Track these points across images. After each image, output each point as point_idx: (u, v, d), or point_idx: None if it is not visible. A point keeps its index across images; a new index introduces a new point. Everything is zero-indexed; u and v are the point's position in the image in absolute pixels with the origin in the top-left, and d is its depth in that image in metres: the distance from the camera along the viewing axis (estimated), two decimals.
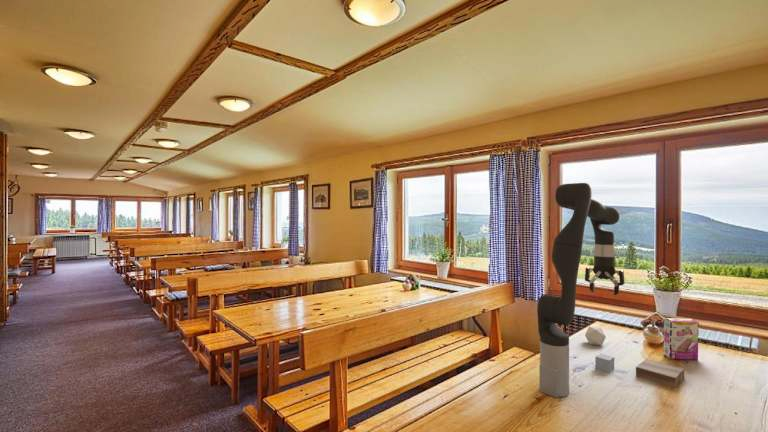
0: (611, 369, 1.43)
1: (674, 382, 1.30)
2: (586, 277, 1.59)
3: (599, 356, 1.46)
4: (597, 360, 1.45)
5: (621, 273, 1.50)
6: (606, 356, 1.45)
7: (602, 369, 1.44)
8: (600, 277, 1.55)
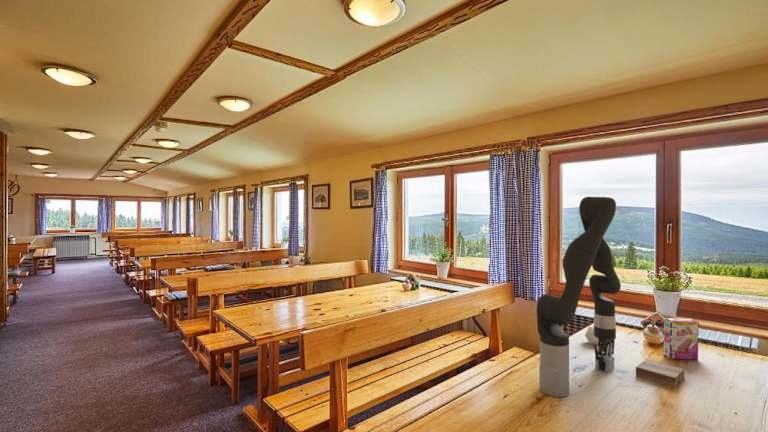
0: (611, 369, 1.43)
1: (674, 382, 1.30)
2: (602, 357, 1.41)
3: None
4: (597, 360, 1.45)
5: None
6: (606, 356, 1.45)
7: None
8: None
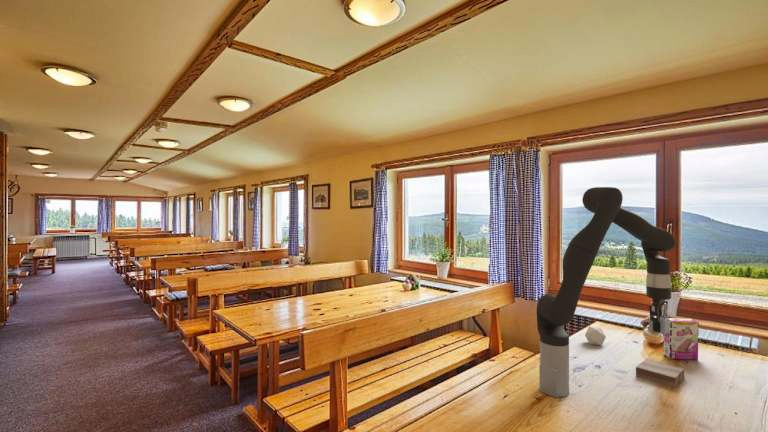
0: (666, 330, 1.36)
1: (674, 382, 1.30)
2: (658, 317, 1.34)
3: None
4: (650, 322, 1.38)
5: (667, 304, 1.41)
6: None
7: None
8: None
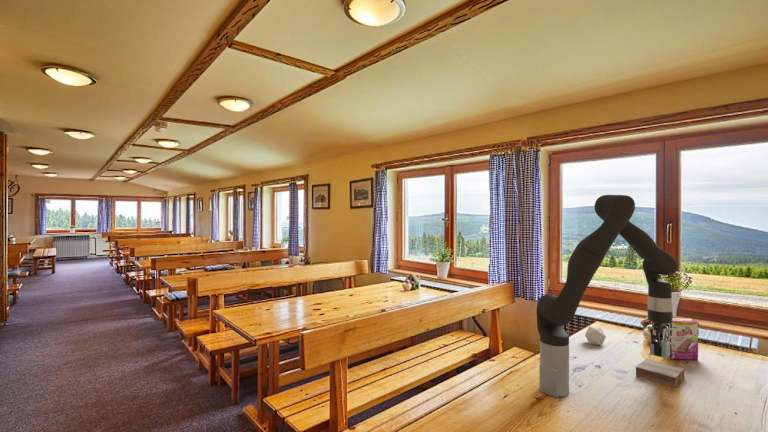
0: (667, 354, 1.36)
1: (674, 382, 1.30)
2: (659, 341, 1.33)
3: None
4: (651, 345, 1.38)
5: (668, 327, 1.41)
6: None
7: None
8: None
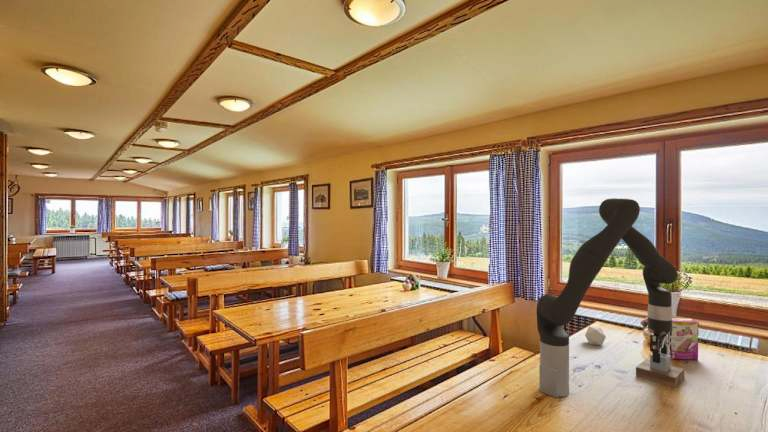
0: (668, 368, 1.35)
1: (674, 382, 1.30)
2: (658, 348, 1.33)
3: None
4: None
5: (668, 332, 1.41)
6: (661, 354, 1.38)
7: (658, 368, 1.36)
8: None
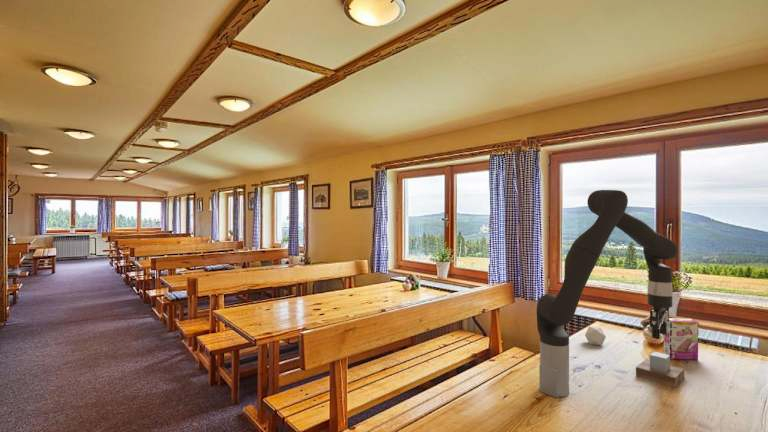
0: (667, 368, 1.35)
1: (674, 382, 1.30)
2: (658, 323, 1.33)
3: (654, 354, 1.38)
4: (651, 359, 1.37)
5: (668, 309, 1.41)
6: (661, 355, 1.38)
7: (658, 368, 1.36)
8: None
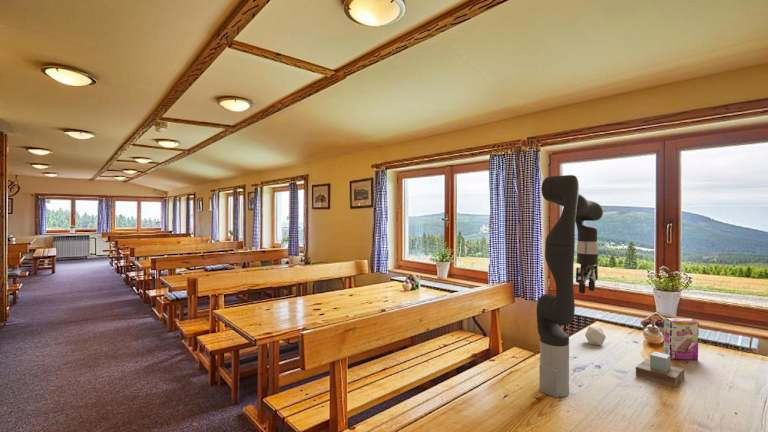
0: (668, 368, 1.35)
1: (674, 382, 1.30)
2: (582, 279, 1.45)
3: (654, 354, 1.38)
4: (652, 359, 1.38)
5: (597, 268, 1.52)
6: (661, 354, 1.38)
7: (658, 368, 1.36)
8: None
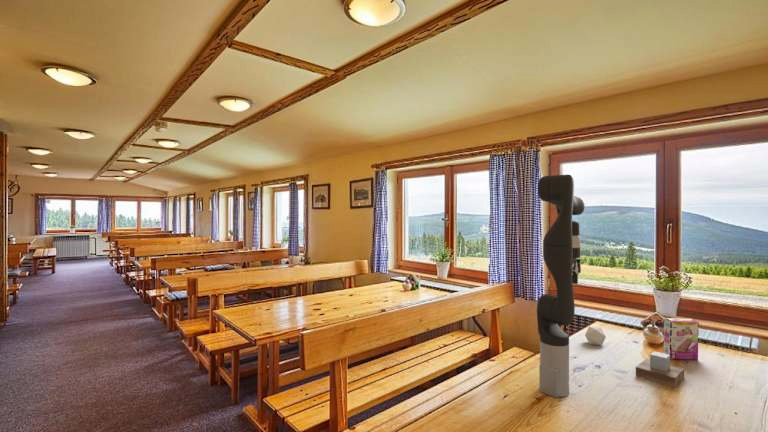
0: (668, 367, 1.36)
1: (674, 382, 1.30)
2: None
3: (654, 354, 1.38)
4: (652, 358, 1.38)
5: None
6: (661, 354, 1.38)
7: (658, 367, 1.36)
8: (571, 269, 1.51)
